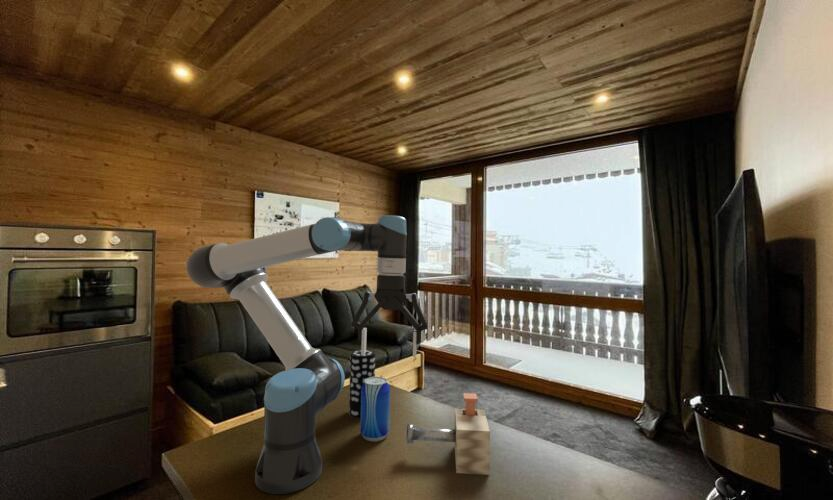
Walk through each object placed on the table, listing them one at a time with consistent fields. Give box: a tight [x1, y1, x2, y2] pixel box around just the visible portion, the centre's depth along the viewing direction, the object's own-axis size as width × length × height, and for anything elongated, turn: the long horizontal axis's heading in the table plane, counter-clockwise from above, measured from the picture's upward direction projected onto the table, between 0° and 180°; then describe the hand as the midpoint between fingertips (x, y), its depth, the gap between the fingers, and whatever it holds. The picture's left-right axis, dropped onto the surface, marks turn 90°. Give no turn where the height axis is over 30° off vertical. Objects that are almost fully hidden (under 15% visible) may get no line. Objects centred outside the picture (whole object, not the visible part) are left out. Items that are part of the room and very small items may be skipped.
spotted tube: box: [348, 349, 376, 420], centre depth 119 cm, size 8×8×20 cm
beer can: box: [359, 376, 391, 442], centre depth 105 cm, size 8×8×16 cm
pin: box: [406, 423, 456, 445], centre depth 94 cm, size 16×5×5 cm, turn 86°
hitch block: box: [453, 408, 491, 476], centre depth 93 cm, size 8×12×10 cm, turn 176°
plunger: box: [462, 392, 479, 416], centre depth 97 cm, size 4×4×8 cm
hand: (388, 354), depth 95 cm, fingers open, 13 cm apart
